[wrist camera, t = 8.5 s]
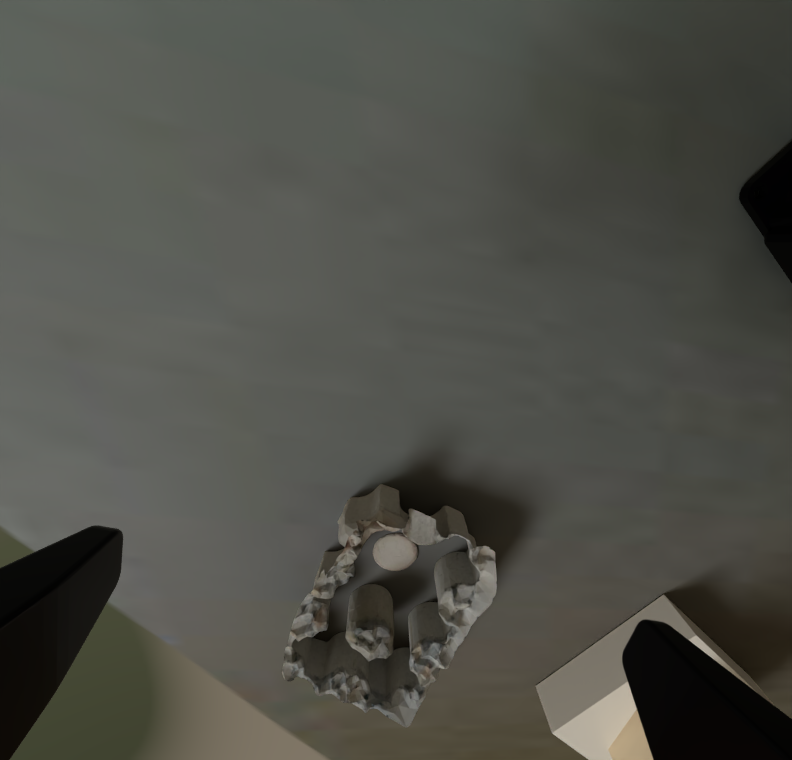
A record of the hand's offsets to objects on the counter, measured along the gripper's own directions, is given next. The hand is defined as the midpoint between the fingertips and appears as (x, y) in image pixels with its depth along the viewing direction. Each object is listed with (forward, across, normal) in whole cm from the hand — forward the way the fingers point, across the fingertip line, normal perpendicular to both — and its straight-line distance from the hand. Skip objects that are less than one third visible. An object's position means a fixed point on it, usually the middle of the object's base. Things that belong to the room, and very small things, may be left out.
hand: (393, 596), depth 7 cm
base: (+12, -19, +15) cm, 27 cm away
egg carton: (+12, -3, +10) cm, 17 cm away
